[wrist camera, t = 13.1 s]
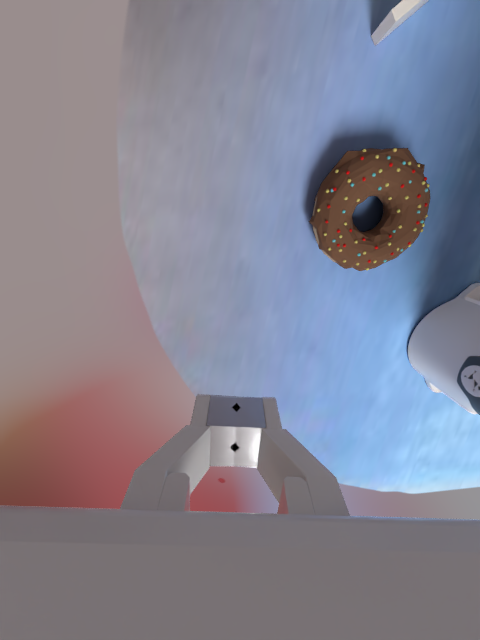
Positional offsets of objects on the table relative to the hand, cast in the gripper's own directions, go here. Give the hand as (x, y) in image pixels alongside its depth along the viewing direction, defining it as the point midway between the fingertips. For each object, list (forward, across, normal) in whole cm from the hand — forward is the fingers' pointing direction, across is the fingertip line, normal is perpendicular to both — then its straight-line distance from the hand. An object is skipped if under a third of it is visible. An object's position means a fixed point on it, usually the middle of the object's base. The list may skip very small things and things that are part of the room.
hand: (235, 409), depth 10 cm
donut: (+30, -16, -8) cm, 34 cm away
